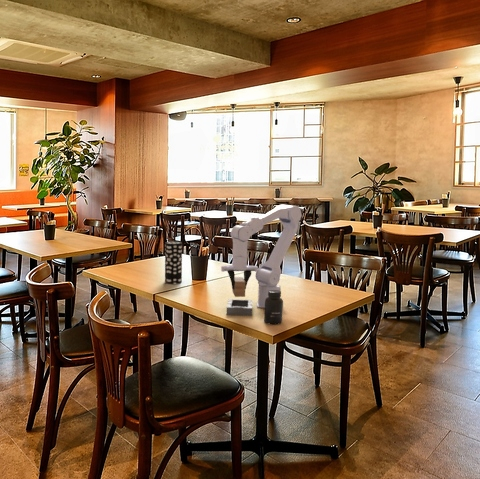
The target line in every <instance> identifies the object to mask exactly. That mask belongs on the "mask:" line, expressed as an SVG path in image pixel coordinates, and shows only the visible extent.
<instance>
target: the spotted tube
mask: <svg viewBox="0 0 480 479" xmlns="http://www.w3.org/2000/svg"><path fill="white" fill-rule="evenodd" d="M164 243H165V244H164V283H165V284H168V285H177V284H181V283H182V278H183V276H182V275H183V267H182V266H183V242H181V241H166V242H164Z"/></svg>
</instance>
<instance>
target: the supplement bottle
mask: <svg viewBox="0 0 480 479" xmlns="http://www.w3.org/2000/svg"><path fill="white" fill-rule="evenodd" d="M283 307H284V299H283V298H282V290H281V291H279V290H269V291H268V297H267V298H266V299H265V308H264V310H263V312H264V313H263V314H264V315H263V321H264V323H265V324H268V325H274V326H276V325H281V324H282V322H283V315H284V314H283V313H284V312H283V311H284V310H283V309H284V308H283Z"/></svg>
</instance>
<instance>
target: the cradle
mask: <svg viewBox="0 0 480 479" xmlns="http://www.w3.org/2000/svg"><path fill="white" fill-rule="evenodd" d="M226 316H244V317H245V316H246V317H247V316H248V317H253V299H237V298H235V299H234V298H228V300H227V303H226Z"/></svg>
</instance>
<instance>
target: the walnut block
mask: <svg viewBox="0 0 480 479" xmlns="http://www.w3.org/2000/svg"><path fill="white" fill-rule="evenodd" d="M245 283H246V282H245V280H244V276H235V277H234V289H232V294H233V295H234V297H235V298H239V297H241V298H242V297H243V298H245V297H246V289H245Z"/></svg>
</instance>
